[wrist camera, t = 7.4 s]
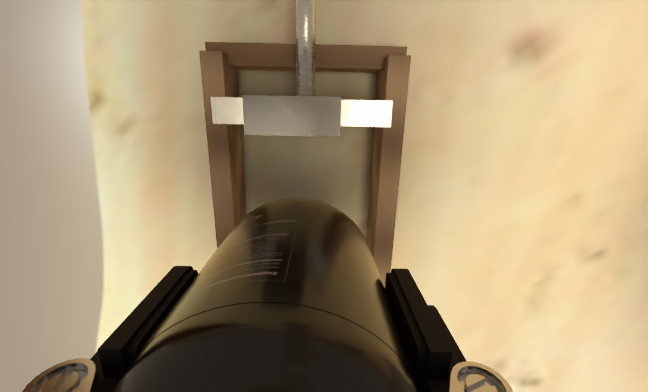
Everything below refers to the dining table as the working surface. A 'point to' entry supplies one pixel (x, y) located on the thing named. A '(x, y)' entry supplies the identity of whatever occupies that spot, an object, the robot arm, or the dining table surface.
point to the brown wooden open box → (383, 60)
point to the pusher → (300, 99)
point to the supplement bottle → (280, 314)
